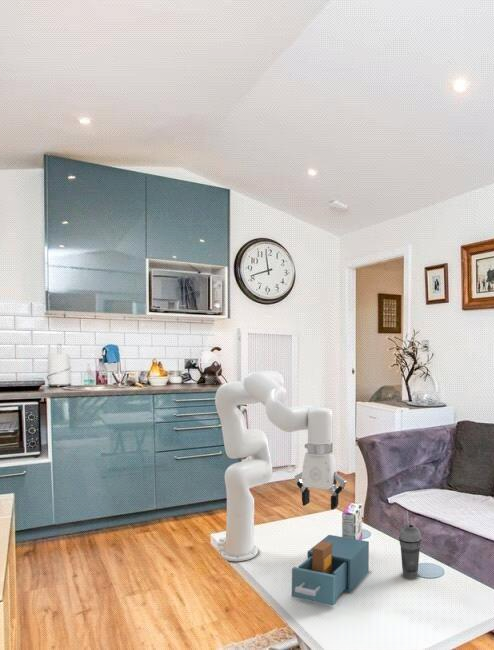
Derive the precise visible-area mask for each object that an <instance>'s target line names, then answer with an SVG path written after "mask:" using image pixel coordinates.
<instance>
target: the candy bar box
mask: <svg viewBox="0 0 494 650" xmlns="http://www.w3.org/2000/svg"><path fill="white" fill-rule="evenodd" d="M341 519H342V520H341V534H342V535H341V537H345V538H351V539H357V540H363V504H362V503H357V502H350V503H348V505H347V506H346V507H345V509H344V510H343V511H342V513H341Z"/></svg>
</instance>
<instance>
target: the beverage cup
mask: <svg viewBox="0 0 494 650" xmlns="http://www.w3.org/2000/svg"><path fill="white" fill-rule="evenodd" d="M405 513H406V514H405V515H406V525H405V526H403V527H402V528H401V530H400V532H399V536H398V541H399V546H400V556H401V568H402V569H401V570H402V577H403V578H404V579H406V580H415V579H417V578H418V573H419V562H420V549H421V545H422V535H421V532H420V530H419V528H418V527H416V526H415V525H413V524H410V521H409V520H410V519H409V511H408V510H405Z"/></svg>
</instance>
